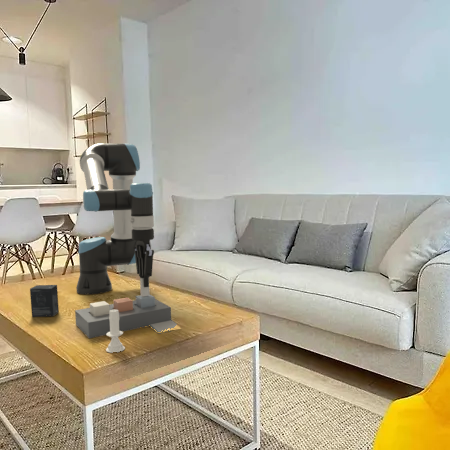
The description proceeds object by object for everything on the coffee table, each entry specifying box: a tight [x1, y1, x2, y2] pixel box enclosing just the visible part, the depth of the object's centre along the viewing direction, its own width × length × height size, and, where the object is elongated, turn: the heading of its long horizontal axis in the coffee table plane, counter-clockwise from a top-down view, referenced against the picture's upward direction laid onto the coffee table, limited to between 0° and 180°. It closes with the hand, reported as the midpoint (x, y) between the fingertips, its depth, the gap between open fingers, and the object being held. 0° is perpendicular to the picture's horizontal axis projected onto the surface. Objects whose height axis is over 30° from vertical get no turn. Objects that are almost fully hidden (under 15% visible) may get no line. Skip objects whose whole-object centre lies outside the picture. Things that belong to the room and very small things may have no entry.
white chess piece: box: [105, 309, 126, 354], centre depth 125 cm, size 5×5×12 cm
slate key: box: [135, 294, 156, 308], centre depth 153 cm, size 5×5×4 cm
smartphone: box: [149, 319, 178, 333], centre depth 147 cm, size 8×1×15 cm
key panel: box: [74, 298, 172, 339], centre depth 149 cm, size 16×28×5 cm, turn 123°
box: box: [29, 284, 60, 318], centre depth 160 cm, size 8×6×11 cm
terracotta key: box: [112, 297, 133, 312], centre depth 149 cm, size 5×5×4 cm
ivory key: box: [89, 300, 110, 317], centre depth 144 cm, size 5×5×4 cm
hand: (145, 295), depth 153 cm, fingers closed
